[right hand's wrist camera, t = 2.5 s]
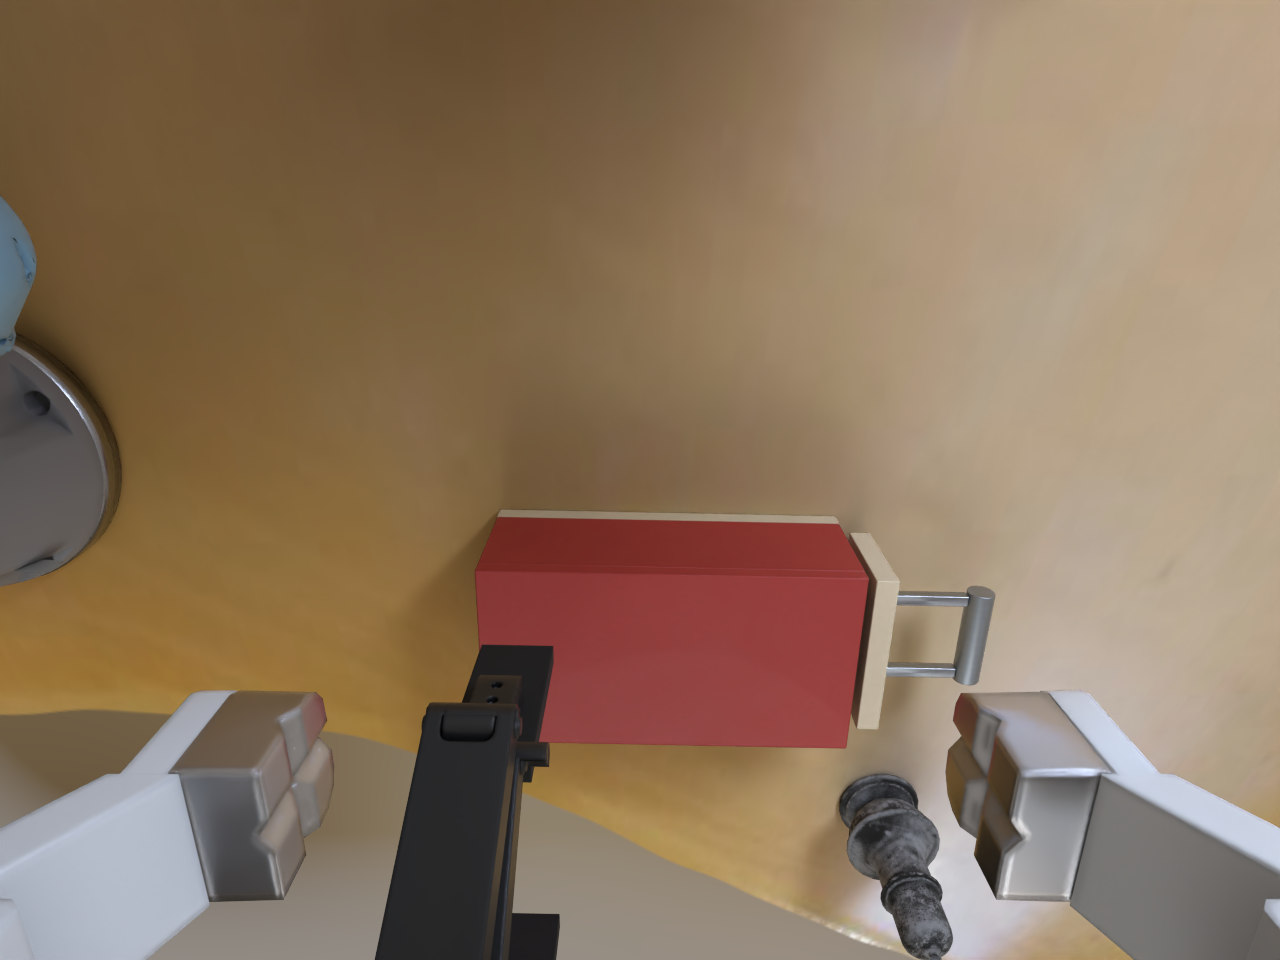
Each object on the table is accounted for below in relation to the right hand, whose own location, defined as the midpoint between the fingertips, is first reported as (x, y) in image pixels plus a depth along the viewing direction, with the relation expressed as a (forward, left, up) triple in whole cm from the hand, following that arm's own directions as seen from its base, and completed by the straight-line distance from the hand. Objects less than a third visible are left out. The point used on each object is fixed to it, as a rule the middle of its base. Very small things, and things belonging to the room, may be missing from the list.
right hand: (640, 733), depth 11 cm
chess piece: (+4, +37, -36) cm, 51 cm away
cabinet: (+8, +15, -36) cm, 40 cm away
